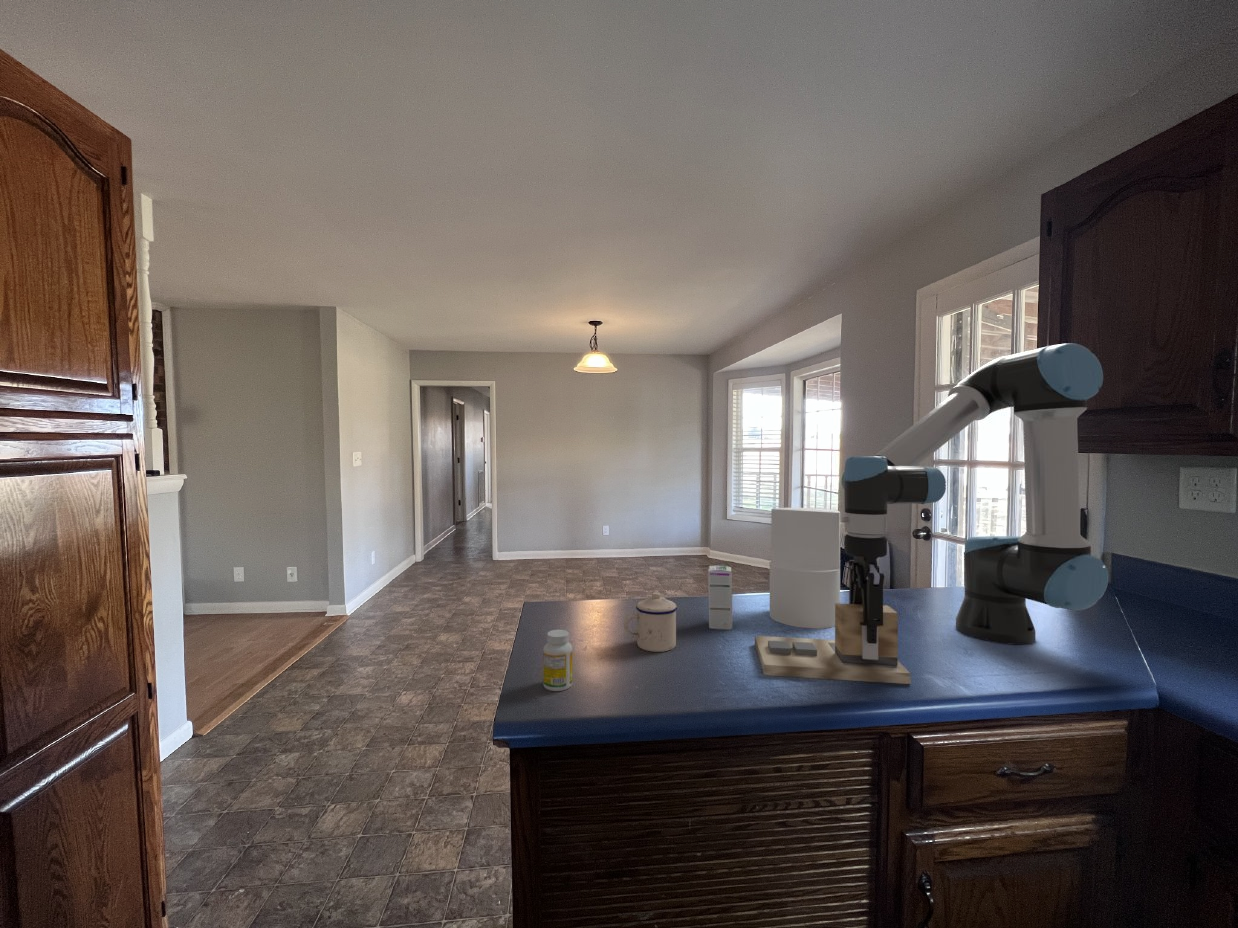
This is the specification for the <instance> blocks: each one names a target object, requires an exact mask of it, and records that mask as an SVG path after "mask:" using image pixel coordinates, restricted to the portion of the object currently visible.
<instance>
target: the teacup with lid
mask: <svg viewBox="0 0 1238 928" xmlns="http://www.w3.org/2000/svg"><path fill="white" fill-rule="evenodd" d="M635 609H636V613H632V614H629V615H627V617H625V619H624V622H623V627H624V630H625V633H627V635H629V637H632V638H636V640H637V641H636V643H637V646H638V648H640V649H642V650H644V651H647V652H653V653H660V652H662V653H663V652H667V651H670V650H673V649H675V647H676V645H677V610H678V608H677V604H676V603H675V602H673V601H672V600H670V599H667V598H665V597H664V596H662V594H661V592H655V591H654V592H652V593H651V596H649V597H647V598H646V599H642V600H640V601H638V603H637V604H636V605H635ZM632 619H636V632H631V631H630V628H629V622H630V621H631V620H632Z"/></svg>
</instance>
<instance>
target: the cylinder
mask: <svg viewBox="0 0 1238 928" xmlns="http://www.w3.org/2000/svg"><path fill="white" fill-rule="evenodd" d="M770 512H771V513H770V514H771V516H770V518H771V521H770V522H771V527H770V528H771V531H770V534H771V535H770V537H771V539H770V541H771V547H770V548H771V556H770V557H771V561H769V617H770V619H772V620H774V621H776V622H778V623H781V624H783V625H787V626H791V627H795V628H803V629H813V630H814V629H828V628H829V629H830V628H835V603H841V511H839V510H835V509H827V508H818V507H817V508H813V507H776V508H771V509H770Z"/></svg>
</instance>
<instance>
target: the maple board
mask: <svg viewBox="0 0 1238 928" xmlns="http://www.w3.org/2000/svg"><path fill="white" fill-rule="evenodd" d="M768 641H787V642H788V643H789V645H790V647H791V655H790V654H772V653H770V651H769V648H768ZM792 642H806V643H813V644H814V646H815V648H816V649H817V656H808V655H796V653H795V651H794V649H793V648H792ZM754 647H755V650H756V652H757V656H758V659H759V662H760V666H761V668H762V671H763V675H764V676H770V677H771V676H773V677H775V676H776V677H789V678H807V679H822V680H835V681H836V680H837V681H854V682H871V683H886V684H888V683H889V684H900V685H901V684H902V685H903V684H904V685H911V672H910V671H909V670H908V669H907V668H906V667H905V666H904V665H903V664H902V663H901V662H900V661H899V660H898V666H897V665H881V664H864V663H848V662H841V660H840V659H839V657H838V656H837V654H836V653H835V639H825V638H807V637H806V638H803V637H786V636H785V637H784V636H783V637H780V636H765V635H764V636H762V635H754Z"/></svg>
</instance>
